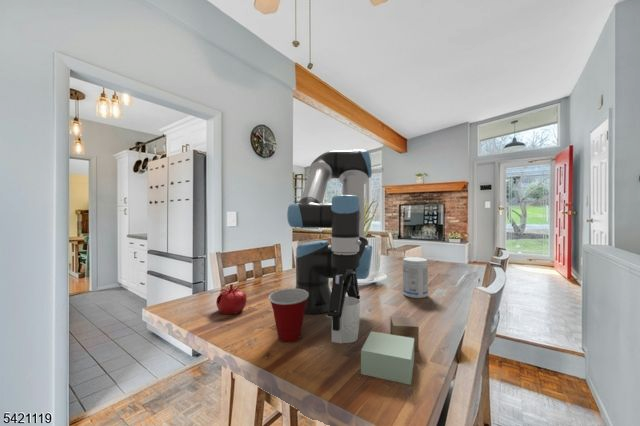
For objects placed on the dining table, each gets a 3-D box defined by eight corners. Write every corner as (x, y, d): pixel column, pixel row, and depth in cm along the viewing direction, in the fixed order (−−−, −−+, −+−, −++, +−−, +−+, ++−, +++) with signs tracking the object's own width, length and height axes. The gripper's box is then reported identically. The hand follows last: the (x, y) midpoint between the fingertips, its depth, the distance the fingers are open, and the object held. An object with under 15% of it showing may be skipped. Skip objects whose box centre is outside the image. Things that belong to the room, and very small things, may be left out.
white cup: (340, 347, 71) (340, 307, 71) (325, 334, 78) (325, 298, 78) (366, 340, 75) (366, 302, 75) (349, 329, 82) (349, 294, 82)
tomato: (251, 307, 101) (251, 281, 101) (238, 317, 91) (239, 288, 91) (224, 305, 102) (225, 279, 102) (210, 315, 93) (210, 286, 93)
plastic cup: (259, 342, 74) (259, 296, 74) (284, 326, 83) (283, 286, 83) (294, 351, 69) (294, 302, 69) (316, 334, 78) (316, 291, 78)
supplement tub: (419, 291, 120) (419, 256, 120) (432, 298, 111) (433, 260, 110) (398, 292, 118) (398, 257, 118) (410, 299, 109) (410, 261, 108)
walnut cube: (393, 349, 70) (393, 325, 70) (390, 338, 76) (390, 316, 76) (418, 351, 69) (418, 326, 69) (413, 340, 75) (413, 317, 75)
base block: (361, 373, 59) (361, 350, 59) (371, 351, 69) (370, 331, 69) (410, 384, 56) (410, 359, 56) (414, 359, 65) (414, 338, 65)
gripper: (345, 261, 63) (345, 355, 63) (369, 247, 86) (369, 316, 86) (314, 259, 66) (314, 349, 66) (345, 246, 89) (345, 313, 89)
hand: (345, 331), depth 76 cm, fingers open, 13 cm apart
